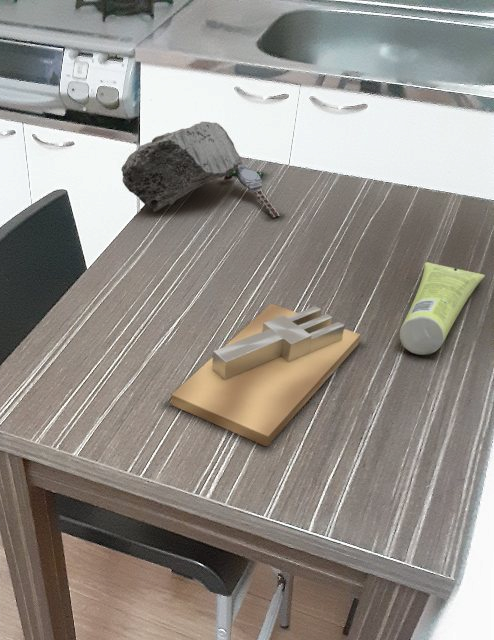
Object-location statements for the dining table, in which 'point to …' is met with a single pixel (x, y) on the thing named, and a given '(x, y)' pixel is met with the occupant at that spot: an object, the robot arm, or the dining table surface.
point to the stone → (179, 163)
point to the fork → (278, 342)
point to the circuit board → (257, 173)
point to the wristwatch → (253, 185)
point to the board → (261, 386)
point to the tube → (436, 307)
